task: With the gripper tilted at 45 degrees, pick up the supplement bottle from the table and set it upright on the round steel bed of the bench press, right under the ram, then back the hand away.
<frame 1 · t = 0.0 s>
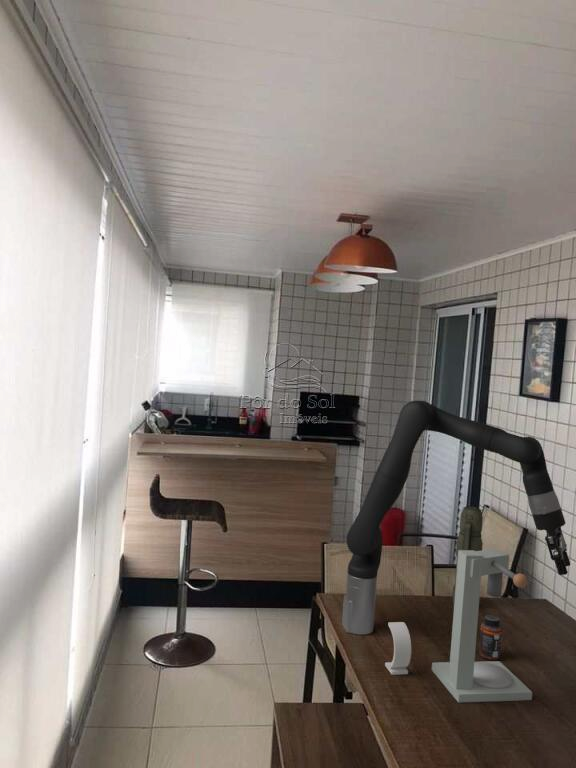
hand: (565, 570, 158), 31 cm above the table, tool tilted 20°, fingers open, 8 cm apart
headphone stand: (397, 671, 162), on the table
press: (486, 684, 158), on the table
thermos: (464, 605, 213), on the table
supplement bottle: (489, 656, 174), on the table
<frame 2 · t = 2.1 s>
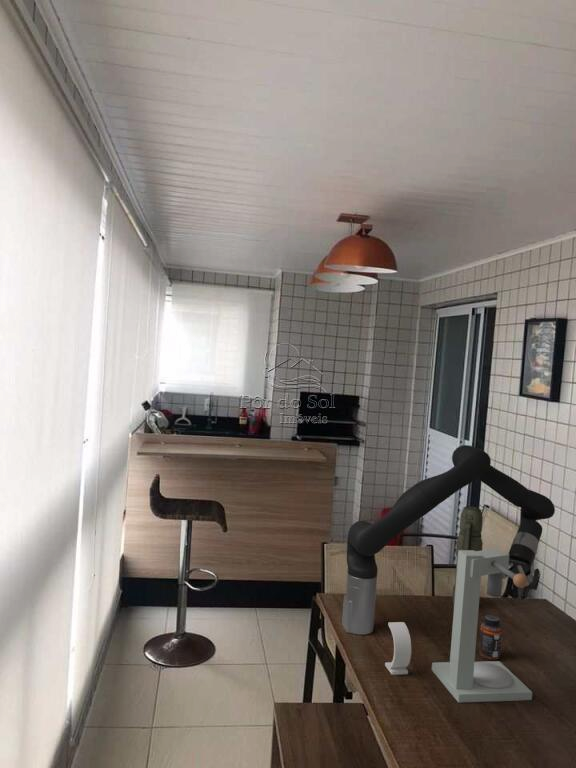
hand: (507, 594, 183), 15 cm above the table, tool tilted 45°, fingers open, 8 cm apart
nothing on the table moved.
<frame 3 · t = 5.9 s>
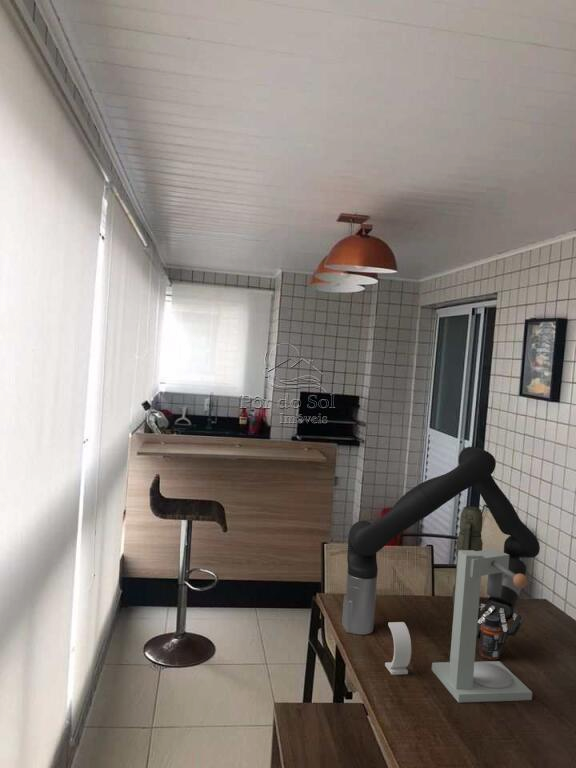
hand: (488, 641, 173), 5 cm above the table, tool tilted 45°, fingers closed on supplement bottle, 6 cm apart
supplement bottle: (489, 656, 174), on the table, touching gripper
everything else where it was.
when the fingers open (9 cm above the table, at t = 12.3 s): supplement bottle stays where it is, resting on press.
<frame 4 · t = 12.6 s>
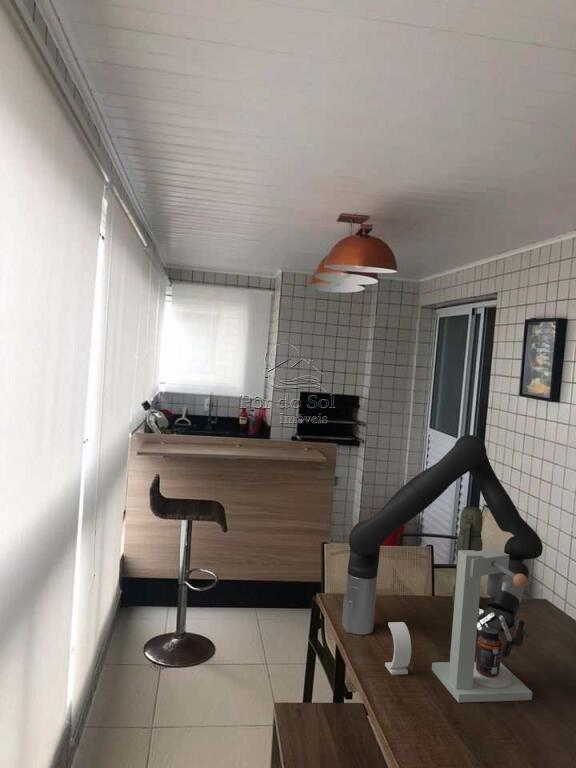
hand: (487, 650, 157), 9 cm above the table, tool tilted 45°, fingers open, 8 cm apart
supplement bottle: (487, 673, 158), point 3 cm above the table, touching press
everything else where it was.
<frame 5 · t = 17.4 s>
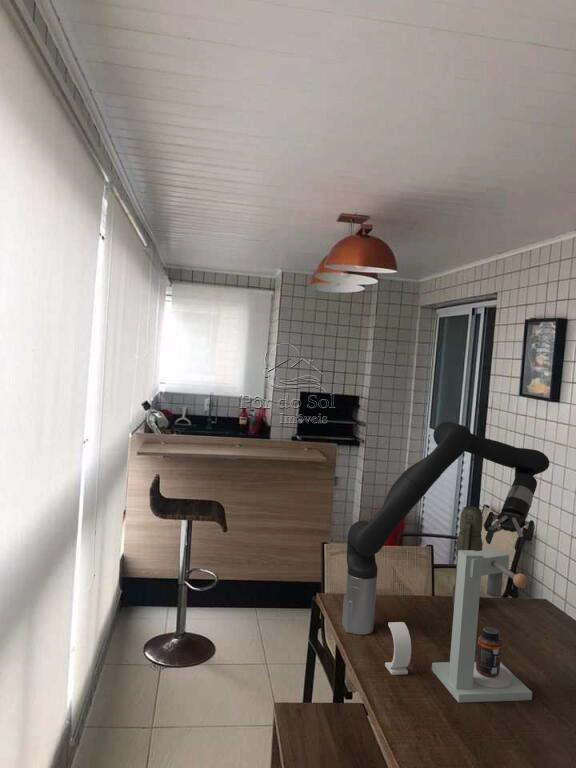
hand: (501, 545, 180), 31 cm above the table, tool tilted 45°, fingers open, 8 cm apart
nothing on the table moved.
at the end: supplement bottle 0.3 cm off-centre on the press, point 2.8 cm above the press's base; supplement bottle tilted 0°; the gripper is holding nothing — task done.
